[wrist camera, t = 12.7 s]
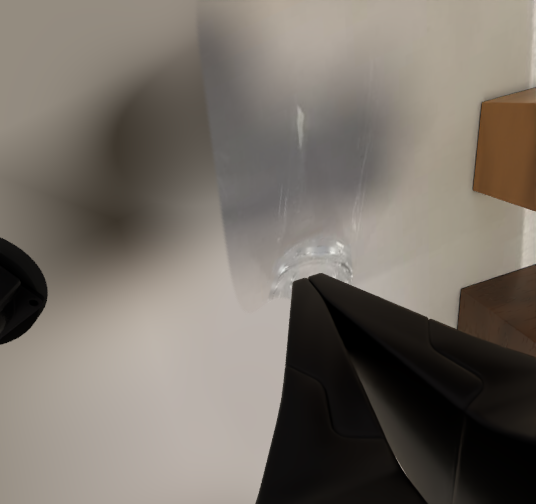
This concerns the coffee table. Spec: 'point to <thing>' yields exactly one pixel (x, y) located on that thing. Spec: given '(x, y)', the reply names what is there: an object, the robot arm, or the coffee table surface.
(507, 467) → the robot arm
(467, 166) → the coffee table surface
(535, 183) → the oak block
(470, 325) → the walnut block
